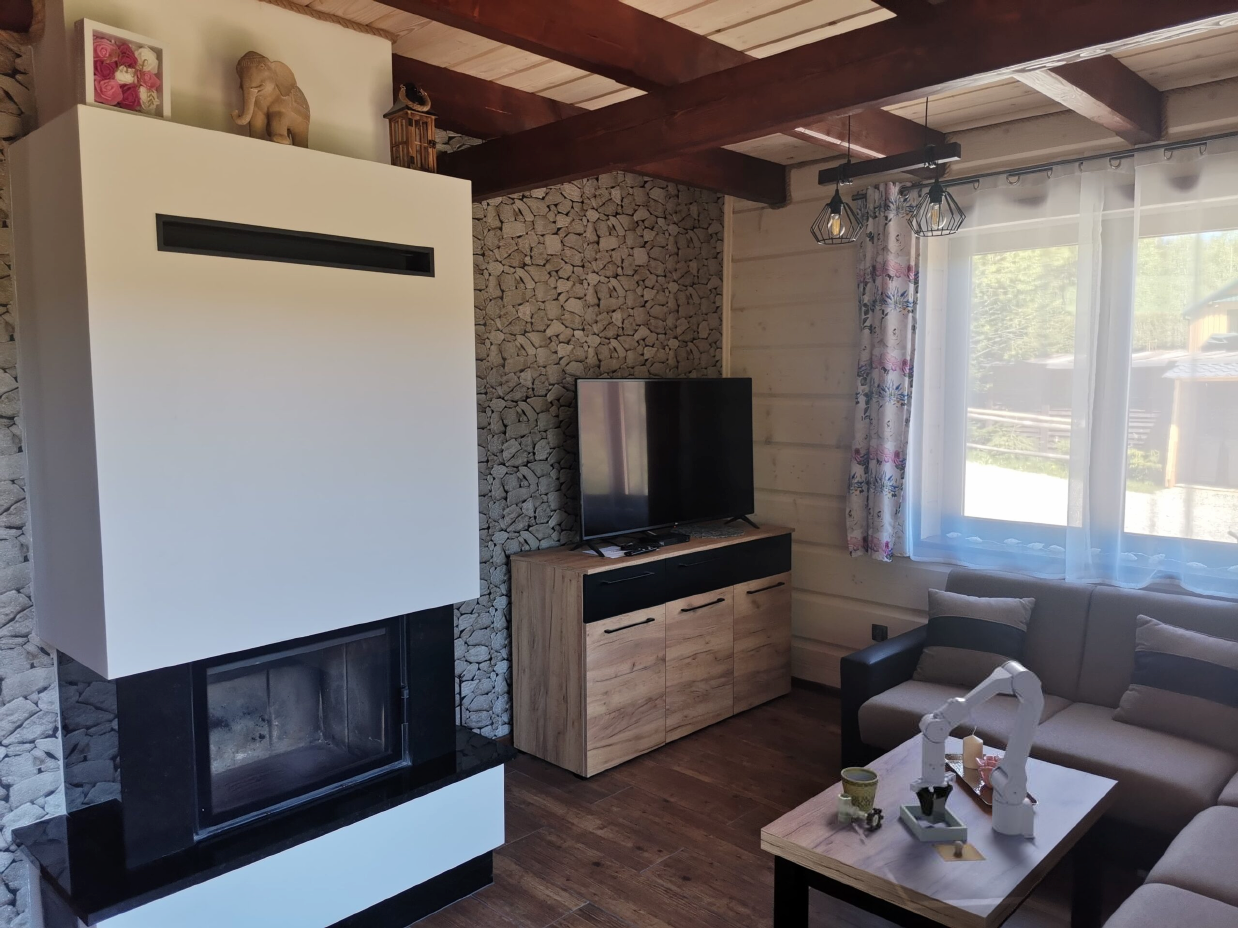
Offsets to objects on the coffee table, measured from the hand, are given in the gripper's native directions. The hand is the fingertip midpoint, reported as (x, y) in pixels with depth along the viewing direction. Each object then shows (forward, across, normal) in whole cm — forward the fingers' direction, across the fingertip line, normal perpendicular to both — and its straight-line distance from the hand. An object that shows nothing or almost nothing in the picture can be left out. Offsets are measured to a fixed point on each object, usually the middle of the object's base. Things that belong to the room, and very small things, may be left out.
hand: (932, 812), depth 227 cm
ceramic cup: (+5, -7, +19) cm, 21 cm away
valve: (+5, -15, +12) cm, 20 cm away
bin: (+5, 0, 0) cm, 5 cm away
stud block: (+5, -4, -12) cm, 14 cm away
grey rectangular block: (+2, 0, 0) cm, 2 cm away
